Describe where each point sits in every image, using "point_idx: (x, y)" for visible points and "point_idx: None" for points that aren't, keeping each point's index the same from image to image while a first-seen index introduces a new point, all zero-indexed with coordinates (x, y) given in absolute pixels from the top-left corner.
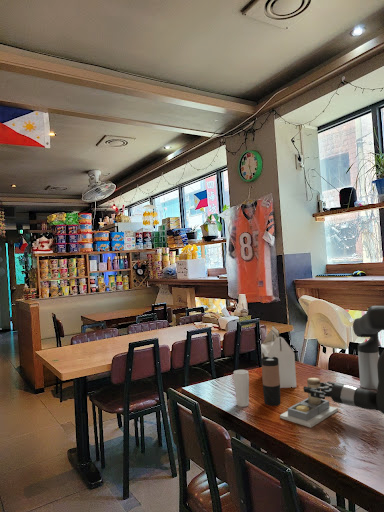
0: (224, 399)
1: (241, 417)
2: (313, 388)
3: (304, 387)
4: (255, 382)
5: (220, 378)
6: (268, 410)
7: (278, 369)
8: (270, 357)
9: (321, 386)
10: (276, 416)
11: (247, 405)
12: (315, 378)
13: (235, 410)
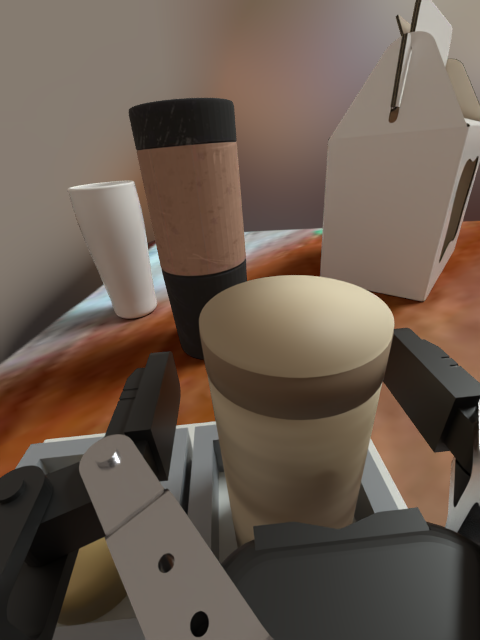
0: (153, 278)
1: (17, 357)
2: (104, 463)
3: (150, 361)
4: (317, 254)
5: (266, 231)
6: (131, 369)
7: (202, 179)
8: (336, 156)
9: (429, 423)
10: (70, 427)
11: (132, 317)
12: (359, 300)
13: (81, 321)
